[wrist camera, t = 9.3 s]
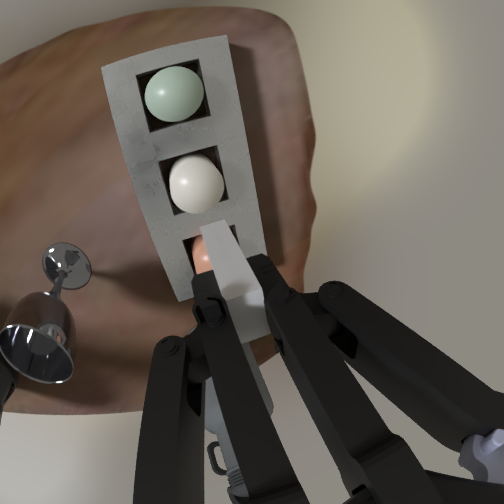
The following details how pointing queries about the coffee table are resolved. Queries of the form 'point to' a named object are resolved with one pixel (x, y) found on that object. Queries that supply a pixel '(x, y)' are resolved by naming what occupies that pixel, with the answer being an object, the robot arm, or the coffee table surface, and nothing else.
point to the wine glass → (46, 320)
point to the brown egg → (200, 255)
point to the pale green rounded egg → (174, 94)
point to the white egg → (195, 183)
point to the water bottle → (218, 427)
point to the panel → (184, 141)
